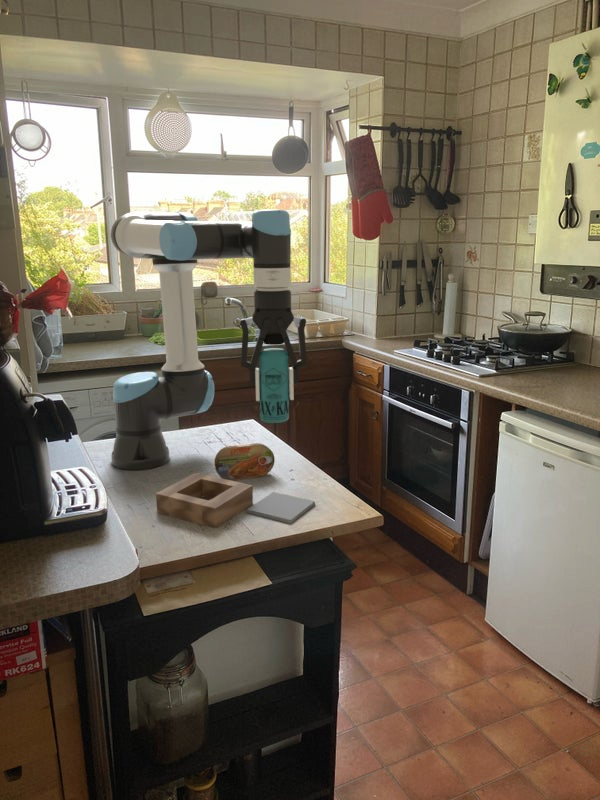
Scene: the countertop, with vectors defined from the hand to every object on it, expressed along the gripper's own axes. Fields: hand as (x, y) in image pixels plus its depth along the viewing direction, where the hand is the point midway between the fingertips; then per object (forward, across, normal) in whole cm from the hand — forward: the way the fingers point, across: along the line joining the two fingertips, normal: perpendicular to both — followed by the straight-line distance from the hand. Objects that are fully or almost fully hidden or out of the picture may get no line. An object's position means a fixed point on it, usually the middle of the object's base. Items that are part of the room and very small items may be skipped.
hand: (274, 398), depth 134 cm
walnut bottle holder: (+25, -16, +2) cm, 30 cm away
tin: (+26, -7, +20) cm, 34 cm away
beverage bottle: (+6, 0, 0) cm, 6 cm away
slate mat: (+25, +1, 0) cm, 25 cm away
